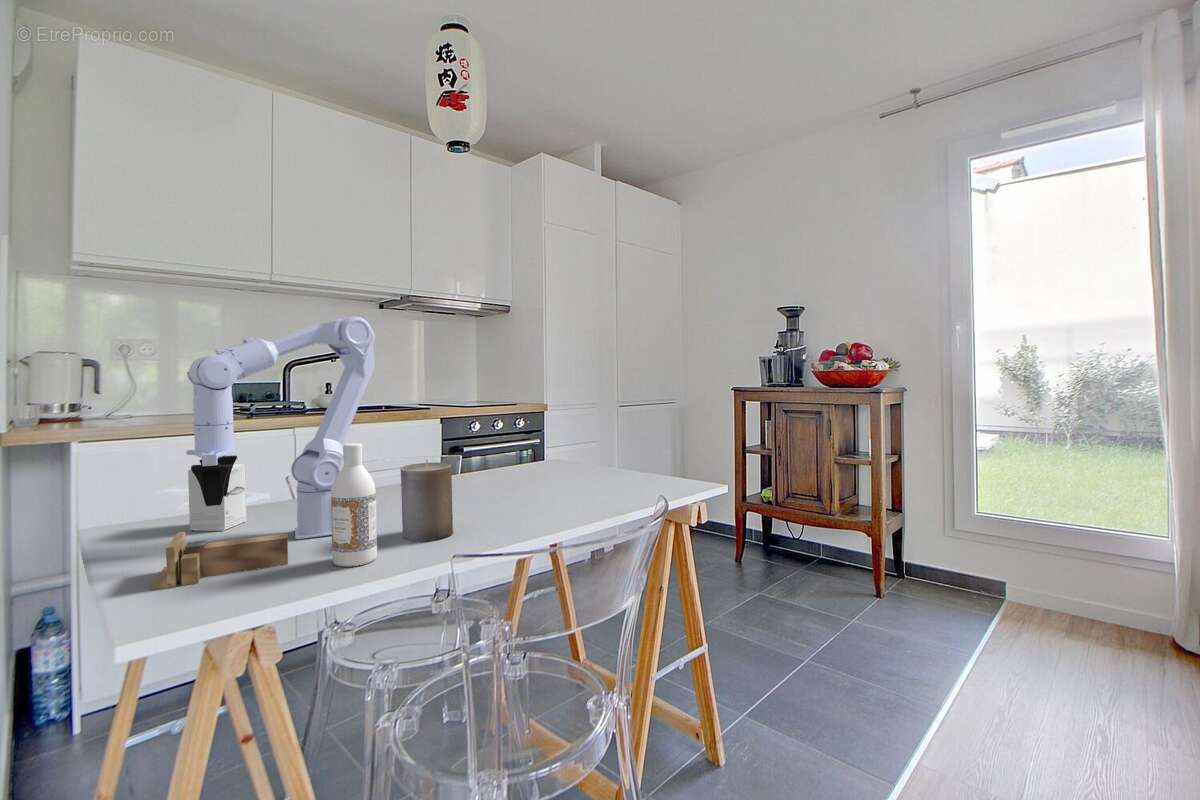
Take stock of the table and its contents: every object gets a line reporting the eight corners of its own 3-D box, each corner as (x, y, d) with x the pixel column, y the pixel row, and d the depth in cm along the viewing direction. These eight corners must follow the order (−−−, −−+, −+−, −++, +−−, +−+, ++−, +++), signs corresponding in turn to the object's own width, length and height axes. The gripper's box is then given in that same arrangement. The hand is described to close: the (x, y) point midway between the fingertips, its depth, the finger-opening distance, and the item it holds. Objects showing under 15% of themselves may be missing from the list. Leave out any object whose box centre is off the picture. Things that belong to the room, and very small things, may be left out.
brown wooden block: (288, 559, 96) (287, 530, 96) (287, 564, 93) (287, 535, 93) (187, 573, 89) (186, 542, 89) (184, 579, 86) (183, 547, 86)
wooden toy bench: (206, 564, 93) (205, 529, 92) (197, 583, 85) (196, 544, 84) (164, 570, 90) (163, 534, 90) (151, 590, 82) (149, 549, 82)
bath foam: (323, 565, 93) (319, 445, 92) (353, 552, 99) (350, 441, 98) (357, 569, 90) (354, 447, 90) (385, 556, 97) (383, 442, 96)
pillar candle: (458, 527, 115) (456, 455, 115) (446, 541, 106) (444, 463, 105) (410, 528, 115) (408, 456, 114) (394, 542, 105) (392, 464, 105)
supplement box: (224, 531, 113) (222, 469, 112) (188, 531, 113) (186, 469, 112) (248, 521, 120) (246, 463, 119) (214, 521, 120) (212, 463, 119)
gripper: (192, 421, 102) (195, 495, 103) (178, 428, 89) (181, 512, 90) (238, 420, 106) (240, 491, 106) (230, 426, 93) (233, 507, 94)
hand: (216, 500), depth 98 cm, fingers open, 7 cm apart
